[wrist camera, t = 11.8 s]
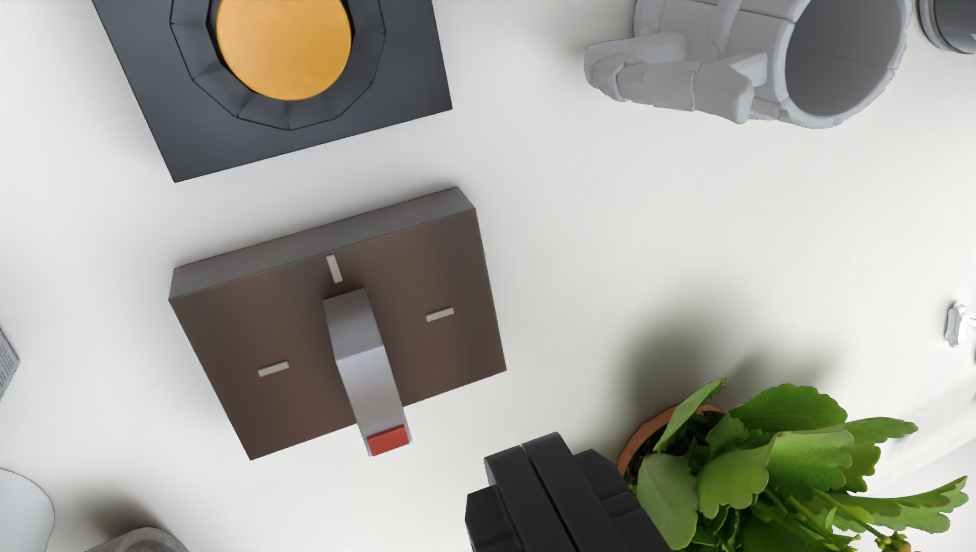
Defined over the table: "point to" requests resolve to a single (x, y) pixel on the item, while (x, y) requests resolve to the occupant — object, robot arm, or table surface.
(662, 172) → the table surface
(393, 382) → the dial knob
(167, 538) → the magnifying glass
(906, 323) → the table surface
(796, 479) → the potted flower
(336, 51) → the button
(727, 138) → the table surface
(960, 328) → the picture light
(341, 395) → the dial panel
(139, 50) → the button housing
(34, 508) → the cylindrical container
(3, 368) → the coffee box
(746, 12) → the mug
